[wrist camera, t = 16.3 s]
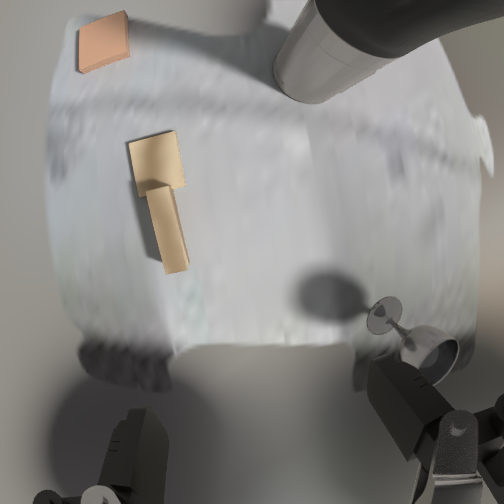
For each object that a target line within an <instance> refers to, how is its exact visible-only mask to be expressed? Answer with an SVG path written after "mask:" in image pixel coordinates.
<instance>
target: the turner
mask: <svg viewBox="0 0 504 504" xmlns="http://www.w3.org/2000/svg"><path fill="white" fill-rule="evenodd" d="M129 148H130V154H131V160H132V165H133V171H134V176H135V181H136V186H137V191H138V195H139V198H140V197H144V196H147V200H148V205H149V209H150V214H151V218H152V222H153V227H154V231H155V235H156V239H157V243H158V247H159V250H160V254H161V258H162V262H163V265H164V269H165V272H166V274H171V273H176V272H181V271H186V270H187V268H188V265H189V262H190V261H189V257H188V253H187V249H186V245H185V241H184V236H183V232H182V228H181V224H180V219H179V215H178V210H177V206H176V201H175V196H174V191H173V189H176V188H180V187H184V186H186V182H185V177H184V172H183V167H182V162H181V157H180V151H179V146H178V140H177V134H176V132H175V131H173V132H169V133H165V134H161V135H157V136H154V137H150V138H146V139H143V140H139V141H136V142H133V143H129Z"/></svg>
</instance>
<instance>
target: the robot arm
mask: <svg viewBox="0 0 504 504" xmlns="http://www.w3.org/2000/svg"><path fill="white" fill-rule="evenodd" d="M502 16H504V0H308V1H307V3H306V5H305V7H304V8H303V10H302V12H301V13H300V15H299V17H298V19H297V20H296V22H295V24H294V26H293V27H292V29H291V31H290V33H289V35H288V36H287V38H286V40H285V42H284V44H283V45H282V47H281V49H280V51H279V53H278V55H277V56H276V59H275V61H274V65H273V73H274V77H275V80H276V82H277V84H278V86H279V87H280V88H281V90H282V91H283V92H284V93H285V94H287V95H288V96H289V97H291V98H293V99H294V100H296V101H299V102H302V103H307V104H318V103H322V102H325V101H327V100H328V99H330V98H332V97H333V96H335V95H336V94H338V93H342V92H344V91H345V90H347V89H348V88H350V87H352V86H353V85H355V84H357V83H359V82H360V81H362V80H364V79H365V78H367V77H369V76H371V75H372V74H374V73H375V72H376V71H377V70H378V69H380V68H382V67H383V66H385V65H387V64H389V63H391V62H392V61H394V60H396V59H398V58H400V57H402V56H404V55H406V54H408V53H409V52H411V51H413V50H415V49H416V48H418V47H420V46H422V45H424V44H425V43H427V42H429V41H432V40H434V39H436V38H438V37H440V36H442V35H445V34H447V33H450V32H453V31H456V30H459V29H462V28H465V27H468V26H471V25H474V24H478V23H481V22H485V21H488V20H492V19H496V18H500V17H502ZM367 395H368V399H369V401H370V403H371V405H372V406H373V408H374V409H375V411H376V412H377V414H378V416H379V417H380V419H381V420H382V422H383V423H384V425H385V427H386V428H387V430H388V431H389V433H390V434H391V436H392V438H393V439H394V441H395V443H396V444H397V446H398V447H399V449H400V451H401V452H402V454H403V455H404V457H405V459H406V460H407V462H409V461H411V460H413V459H415V458H418V459H419V461H420V465H419V468H418V473H417V477H416V481H415V485H414V489H413V493H412V496H411V500H410V503H409V504H480V502H481V495H482V487H483V481H482V478H483V480H484V481H485V483H486V484H487V486H488V488H489V489H490V491H491V493H492V494H493V496H494V498H495V499H496V501H497V503H498V504H504V394H503V395H501V396H500V397H499V398H498V399H497V401H496V403H495V405H494V407H491V408H488V409H486V410H483V411H480V412H477V413H473V414H472V413H471V412H469V411H467V410H461V409H458V410H455V409H454V408H453V407H451V405H450V404H449V403H448V402H447V401H446V400H445V398H444V397H443V396H442V395H441V394H440V393H439V392H438V391H437V390H436V389H435V387H434V386H433V385H432V384H430V383H429V381H428V380H427V379H426V378H425V377H423V375H422V373H421V372H420V371H419V370H418V369H417V368H416V367H415V366H413V365H411V364H408V363H406V362H404V361H403V362H401V363H398V362H397V361H396V360H395V359H394V358H393V356H392V355H390V354H386V355H383V356H380V357H378V358H375V359H372V360H370V361H369V365H368V378H367ZM110 442H111V443H109V447H108V452H107V453H106V457H105V460H104V464H103V467H102V471H101V475H100V478H99V482H98V484H97V486H93V487H90V488H89V489H87V490H86V491H85V492H84V494H83V495H82V496H79V497H67V498H62V497H61V496H59V495H58V494H57V493H56V492H54V491H52V490H44V491H41V492H40V493H38V494H37V495H36V497H35V498H34V501H33V504H164V493H165V482H166V471H167V462H168V452H169V437H168V434H167V431H166V429H165V428H164V426H163V424H162V423H161V421H160V420H159V418H158V416H157V415H156V413H155V411H154V409H153V408H152V407H150V406H146V407H145V406H144V407H131V408H130V409H129V412H128V416H127V419H126V420H121V421H120V423H119V424H118V425H117V426H116V428H115V429H114V430H113V433H112V436H111V440H110ZM477 470H478V472H479V473H480V475H481V476H482V478H481V477H478V476H477V473H476V471H477Z"/></svg>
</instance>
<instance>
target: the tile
mask: <svg viewBox="0 0 504 504" xmlns="http://www.w3.org/2000/svg"><path fill="white" fill-rule="evenodd" d="M128 57H130V51H129V36H128V16H127V14H126V12H125V11H124V10H123V11H120V12H118V13H115V14H112V15H109V16H107V17H104V18H102V19H99V20H97V21H94V22H92V23H90V24H87V25H85V26H83V27H81V28H80V33H79V70H80V71H81V72H82V73H84V74H85V73H88V72H90V71H93V70H95V69H97V68H100V67H103V66H105V65H108V64H110V63H113V62H116V61H119V60H122V59H125V58H128Z"/></svg>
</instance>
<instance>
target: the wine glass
mask: <svg viewBox="0 0 504 504" xmlns="http://www.w3.org/2000/svg"><path fill="white" fill-rule="evenodd" d="M401 315H402V304H401V302H400V301H399V300H398V299H397V298H395V297H386V298H384V299H382V300H380V301H379V302H378V303H376V304H375V305H374V307H373V308H372V309H371V311H370V313H369V315H368V319H367V326H368V329H369V331H370V332H371V333H373V334H375V335H382V334H385V333H387V332H389V331H391V330H392V329H393V328H395V330H396V331H397V332H398V334H399V335H400V345H399V350H398V357H399V361H400V363H401V362H403V361H404V362H406V363H408V364H411V365H413V366H415V367H416V368H417V369H418V370H419V371H420V372H421V373H422V375H423V377H425V378H426V379H427V380H428V381H429V383H430V384H432V385H433V386H434V385H436V384H437V383H439V382H440V381H441V380H442V379H443V378H444V377H445V376H446V375H447V374H448V373H449V372H450V370H451V369H452V367H453V366H454V364H455V362H456V360H457V357H458V354H459V344H458V342H457V341H456V340H455V339H454V338H453V337H451V336H450V335H449V334H447V333H446V332H444V331H442V330H440V329H438V328H436V327H433V326H430V325H421V326H417V327H414V328H411V329H405V328H403V327H401V326H400V325H398V324H397V323H398V322H399V320H400V318H401Z"/></svg>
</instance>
